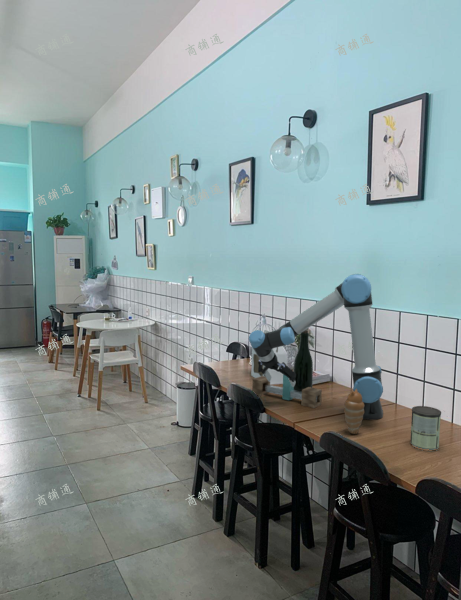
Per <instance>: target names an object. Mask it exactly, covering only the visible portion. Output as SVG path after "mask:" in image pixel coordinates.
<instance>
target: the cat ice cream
mask: <svg viewBox="0 0 461 600" xmlns="http://www.w3.org/2000/svg"><path fill="white" fill-rule="evenodd" d="M343 412H344V420H345V425H346V426H347V430H348V432H349V433H350V434H352V435H356V434H358V433H359V432H360V427H361V426H362V421H363V420H364V419H363V414H364V403H363V402H362V395H361V394H360V393H359V392H358V390H357V389H356V390H355V391H351V392H349V393H348V395H347V397H346V400H345V402H344V409H343Z"/></svg>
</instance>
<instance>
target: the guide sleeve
mask: <svg viewBox="0 0 461 600" xmlns="http://www.w3.org/2000/svg"><path fill="white" fill-rule="evenodd" d="M322 391H323V390H322V389H321V388H316V387H313V386H312V387H307V388H305V389H303V390H302V400H301V404H300V405H301V406H304V407H309V408H312V409H315V408H318V407H320V406H321V405H322ZM316 396H318V401H317V402H316Z"/></svg>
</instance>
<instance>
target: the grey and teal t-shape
mask: <svg viewBox="0 0 461 600" xmlns="http://www.w3.org/2000/svg"><path fill="white" fill-rule="evenodd" d="M265 392H270V393H269V394H275V395H278V396H279V395H280V396H282V400H285V401H291V400H293V399H297V400H301V401H302V392H301V391H296V390H294V387H292V385H291V383H290V381H289V379H288V377H287V376H285V375H284V374H283V384H282V386H276V385H274V384H272V385H266V386H265ZM317 401H318V396H316V402H317Z"/></svg>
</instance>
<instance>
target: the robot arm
mask: <svg viewBox="0 0 461 600" xmlns="http://www.w3.org/2000/svg"><path fill="white" fill-rule="evenodd" d="M372 306H373V295H372V284H371V282H370V280H369V278H368V277H366V276H365V275H363V274H361V273H360V274H359V273H353V274H350V275H348V276H347V277H346V278H345V279H344V280H343V282H342V283H340V284H339V285H338V286H335V288H334V291H332V292H331V293H330V294H328V295H327V296H325V297H323V298H322V299H320V300H319V301H317V302H316V303H314V304H313V305H311V306H310V307H309V308H307V309H306V310H304V311H303V312H301V313H299V314H297V315H296V316H295V317H293V318H292V319H291V320H289V321H287V322H286V323H284V324H283V325H281V326H279V328H277V329H276V330H273V331H269V332H268V333H264V331H262V330H261V329H260V330H259V329H255V330H254V331H252V332H251V333H249V336H248V341H249V343H250V346H251V348H252V347H253V349H254V351H255V352H256V354H257V355H258V357H259V361H258V364H259V367H258V372H262V373H263V374H264V376H265V377H266V378H267V380H268V382H270V380H271V378H272V377H271V375H270V373H269V372H268V370H267V369H268V368H270V369H274V370H276V371H277V372H281V373H282V374H284V375H285V376H287V377H288V379H289V381H290V383H291V385H292V387H294V385H295V383H296V381H295V377H296V373H294V372H293V370H292V369H291V368H290V366H288V365H287V366H286V364H285V363H284V362H282V364H280V363H279V362H278V361H277V356H276V355H275V353H274V351H273V348H276V347H281V346H283V347H284V346H289V345H292V344H294V343H296V342H295V341H296V338H295V337H297V336H298V335H300V334H301V332H303V331H304V330H307V329H309V328H311V327H312V326H314V325H315V324H317V323H318V322H320V321H322V320H323V319H324V318H326V317H328V316H329V315H330V314H332V313H334V312H335V311H337V310H338V309H339V308H342V307H344V309H345V310H347V312H348V316H349V317H348V318H349V325H350V326H349V327H350V336H351V343H352V344H351V345H352V353H353V359H354V367H353V368H352V369H351V376H352V383H353V387H352V390H353V392H354V391H355V390H356V389H357V390H358V392H359V393H360V394H361V395H362V402H363V403H364V414H363V419H362V420H371V421H373V420H375V421H376V420H380V419H382V418H383V416H384V410H383V407H382V403H381V398H382V395H383V392H384V386H383V384H382V383H383V382H382V367H381V366H379V365H377V363H376V354H375V346H374V339H373V338H374V337H373V329H372V321H371V312H370V308H371V307H372ZM263 365H264V366H265V367H264V369H262V366H263ZM278 367H279V369H278Z"/></svg>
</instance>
